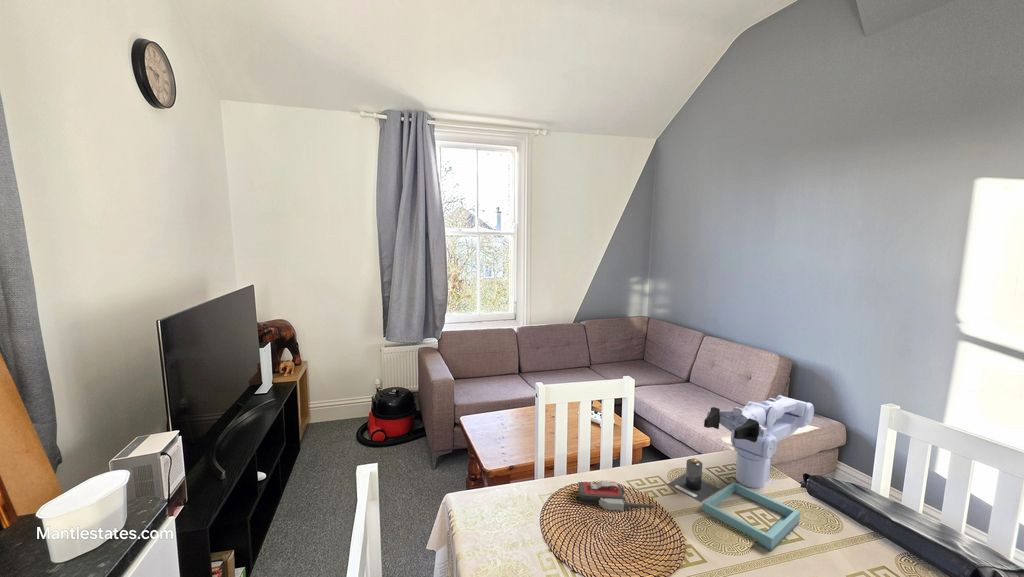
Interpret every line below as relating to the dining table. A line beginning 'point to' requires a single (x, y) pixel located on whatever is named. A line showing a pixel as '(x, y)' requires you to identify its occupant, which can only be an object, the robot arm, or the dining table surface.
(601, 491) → the walkie-talkie
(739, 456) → the robot arm
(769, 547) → the rectangular frame
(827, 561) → the dining table surface
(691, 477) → the battery cell
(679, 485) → the grey square pad
